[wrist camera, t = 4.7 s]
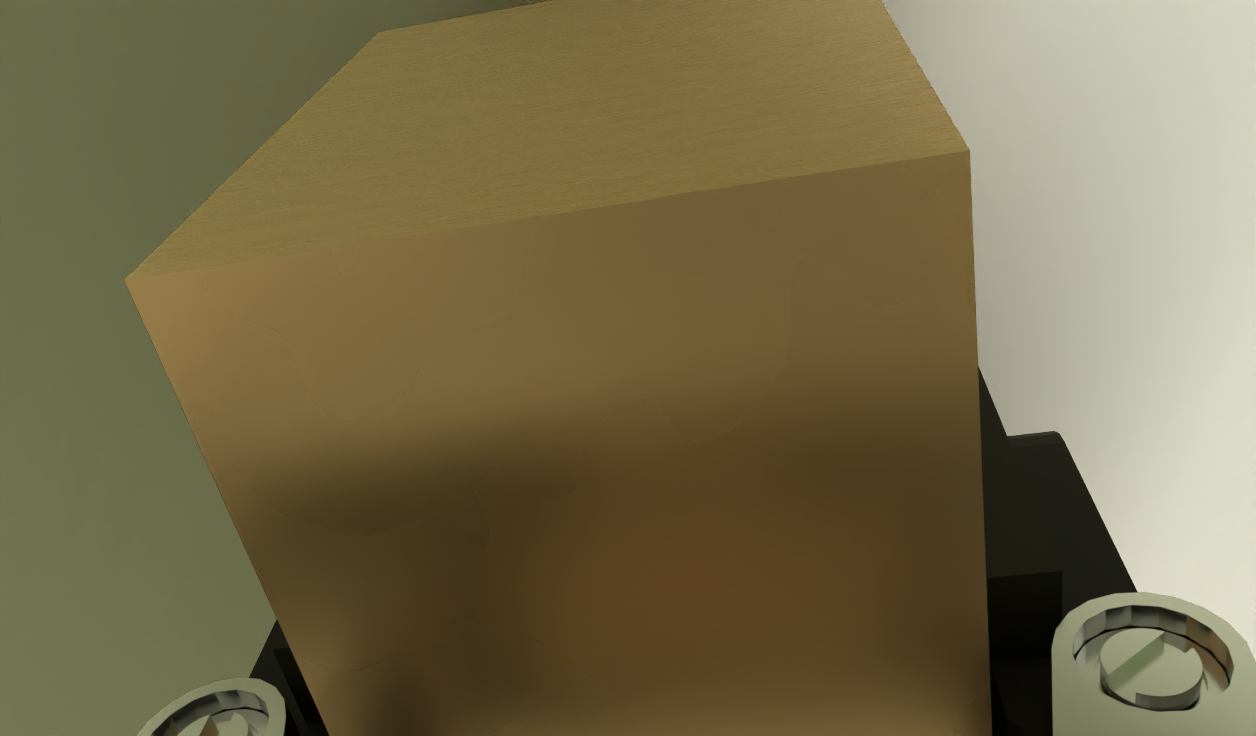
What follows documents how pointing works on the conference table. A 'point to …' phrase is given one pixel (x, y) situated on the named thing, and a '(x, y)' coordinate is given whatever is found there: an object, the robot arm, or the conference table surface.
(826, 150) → the long brass-colored rectangular prism
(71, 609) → the conference table surface
